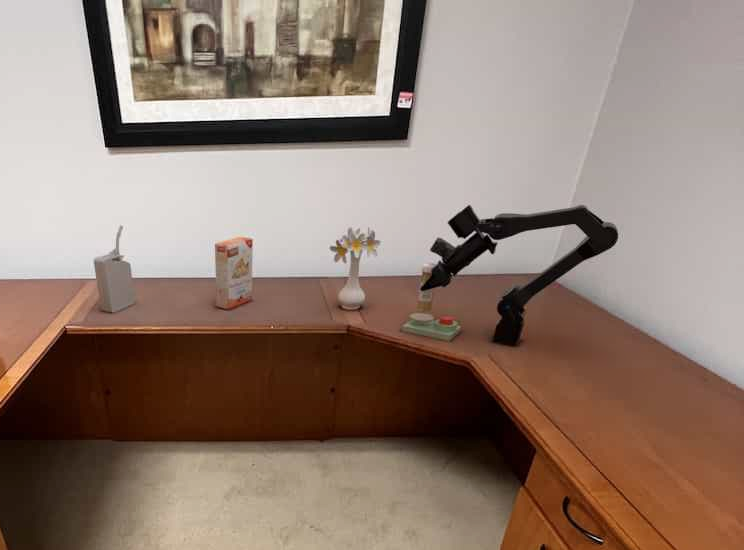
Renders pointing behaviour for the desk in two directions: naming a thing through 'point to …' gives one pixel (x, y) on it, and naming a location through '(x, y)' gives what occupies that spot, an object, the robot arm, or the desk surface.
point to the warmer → (432, 329)
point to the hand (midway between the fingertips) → (422, 288)
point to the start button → (446, 320)
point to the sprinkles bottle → (427, 295)
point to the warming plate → (421, 317)
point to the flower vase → (354, 264)
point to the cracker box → (233, 272)
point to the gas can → (114, 280)
